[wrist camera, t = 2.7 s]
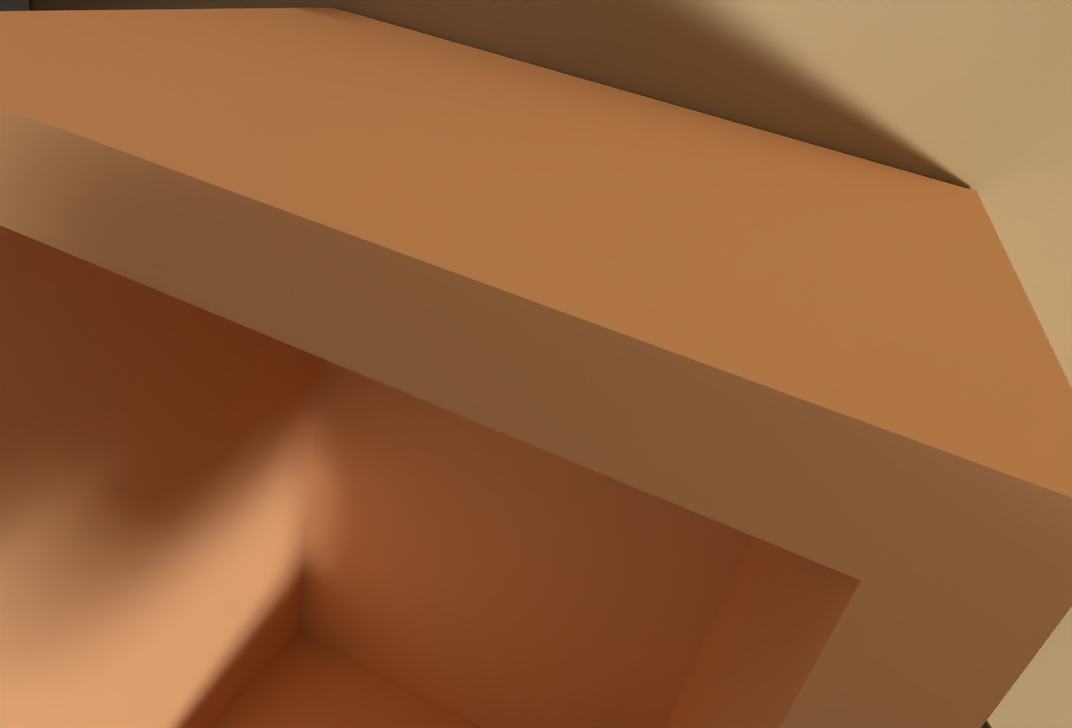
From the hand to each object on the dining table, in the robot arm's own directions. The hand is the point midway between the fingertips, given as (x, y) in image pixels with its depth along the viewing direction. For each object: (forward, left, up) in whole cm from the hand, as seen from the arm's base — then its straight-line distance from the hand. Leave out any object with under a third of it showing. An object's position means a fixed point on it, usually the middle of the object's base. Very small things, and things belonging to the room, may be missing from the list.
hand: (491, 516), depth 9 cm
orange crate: (0, 0, -1) cm, 1 cm away
